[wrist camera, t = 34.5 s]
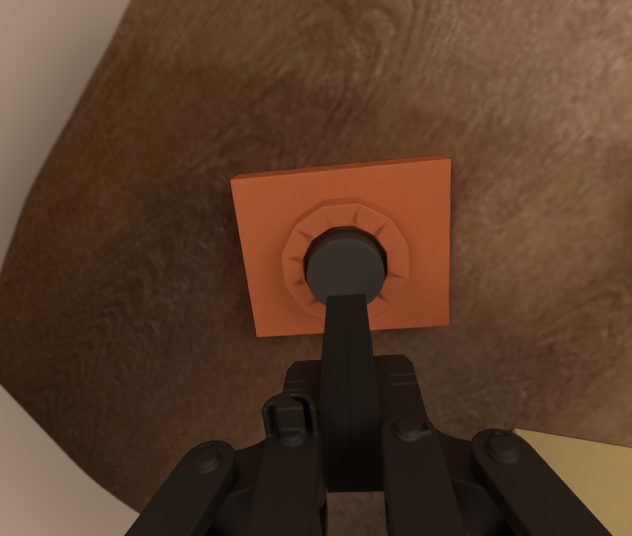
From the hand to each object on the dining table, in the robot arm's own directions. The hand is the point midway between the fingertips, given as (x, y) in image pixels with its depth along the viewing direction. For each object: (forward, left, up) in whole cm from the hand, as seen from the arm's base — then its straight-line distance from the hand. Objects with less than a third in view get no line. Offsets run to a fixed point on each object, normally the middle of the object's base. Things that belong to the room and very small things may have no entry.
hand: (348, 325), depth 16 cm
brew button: (0, 0, -7) cm, 7 cm away
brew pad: (0, 0, -11) cm, 11 cm away
